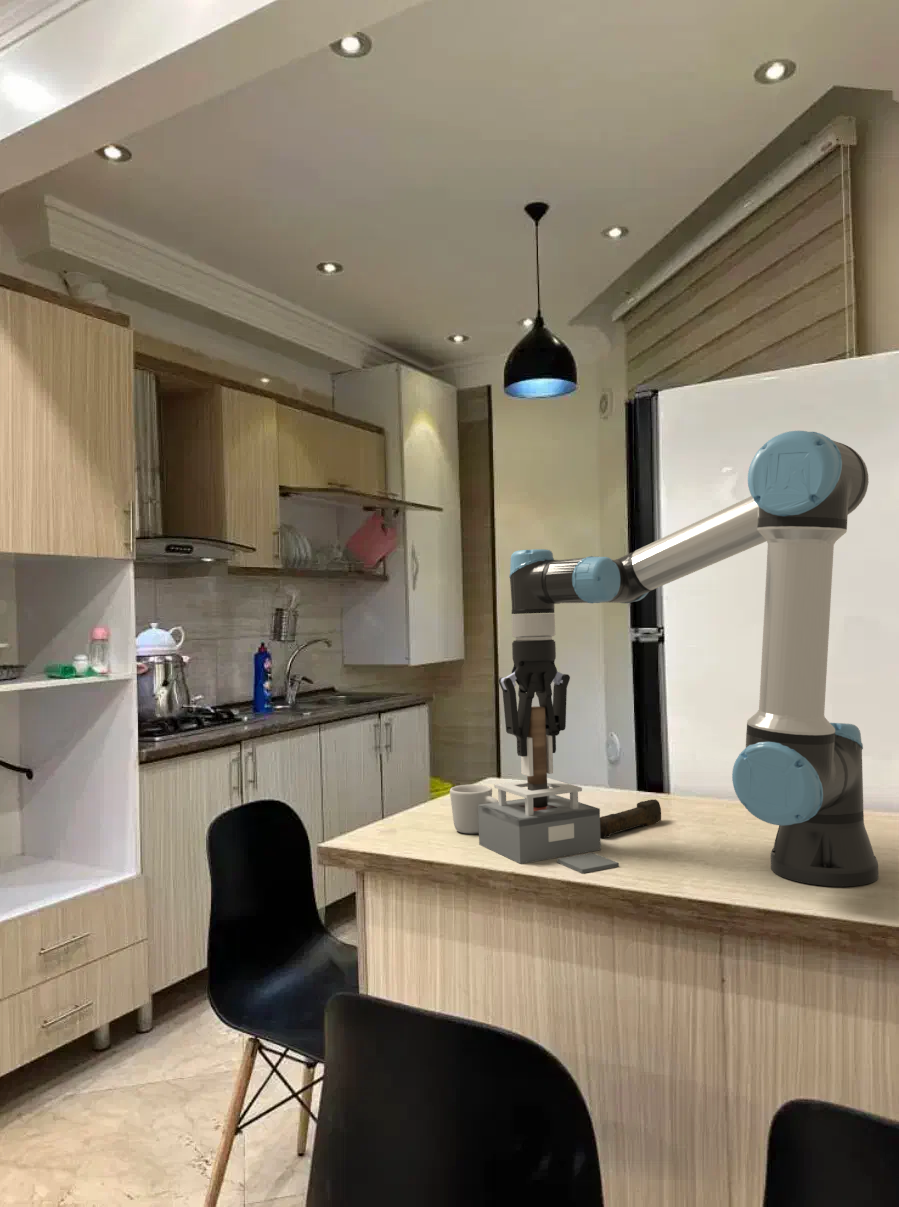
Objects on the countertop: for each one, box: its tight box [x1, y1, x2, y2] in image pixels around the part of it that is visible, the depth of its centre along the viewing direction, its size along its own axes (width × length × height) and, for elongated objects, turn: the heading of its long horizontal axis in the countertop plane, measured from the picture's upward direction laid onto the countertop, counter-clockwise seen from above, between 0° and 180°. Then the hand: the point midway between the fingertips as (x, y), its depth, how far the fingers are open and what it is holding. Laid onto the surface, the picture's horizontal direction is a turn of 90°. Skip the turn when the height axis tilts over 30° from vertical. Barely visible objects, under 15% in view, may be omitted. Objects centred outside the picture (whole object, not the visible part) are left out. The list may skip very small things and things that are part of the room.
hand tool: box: [600, 799, 662, 840], centre depth 163 cm, size 19×4×5 cm, turn 128°
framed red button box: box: [478, 777, 602, 865], centre depth 152 cm, size 14×16×11 cm
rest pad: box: [556, 852, 620, 874], centre depth 141 cm, size 7×7×1 cm
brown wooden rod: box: [526, 705, 548, 808], centre depth 152 cm, size 3×3×17 cm
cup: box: [449, 784, 499, 835], centre depth 164 cm, size 11×8×8 cm
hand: (537, 773), depth 152 cm, fingers closed on brown wooden rod, 3 cm apart
